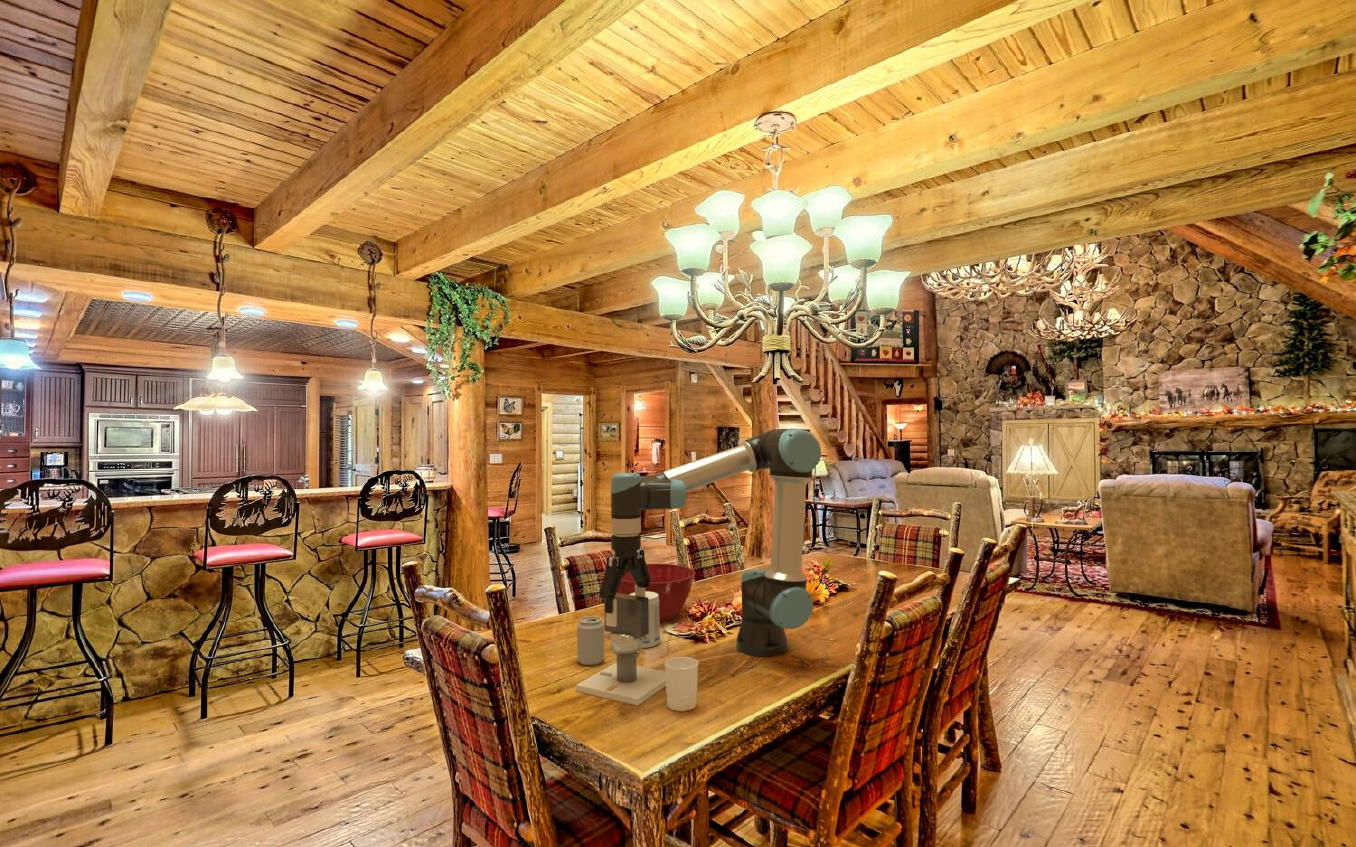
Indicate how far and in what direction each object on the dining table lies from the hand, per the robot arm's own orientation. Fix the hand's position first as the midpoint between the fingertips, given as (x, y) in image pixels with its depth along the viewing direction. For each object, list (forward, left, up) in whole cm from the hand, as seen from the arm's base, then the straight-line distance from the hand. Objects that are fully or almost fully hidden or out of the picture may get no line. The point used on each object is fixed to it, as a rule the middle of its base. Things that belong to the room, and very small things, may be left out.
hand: (626, 618), depth 160 cm
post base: (0, 0, -17) cm, 17 cm away
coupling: (0, 0, -7) cm, 7 cm away
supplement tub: (+13, -29, -17) cm, 36 cm away
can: (+18, -9, -17) cm, 26 cm away
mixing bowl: (+25, -55, -17) cm, 63 cm away
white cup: (-18, +4, -17) cm, 25 cm away
